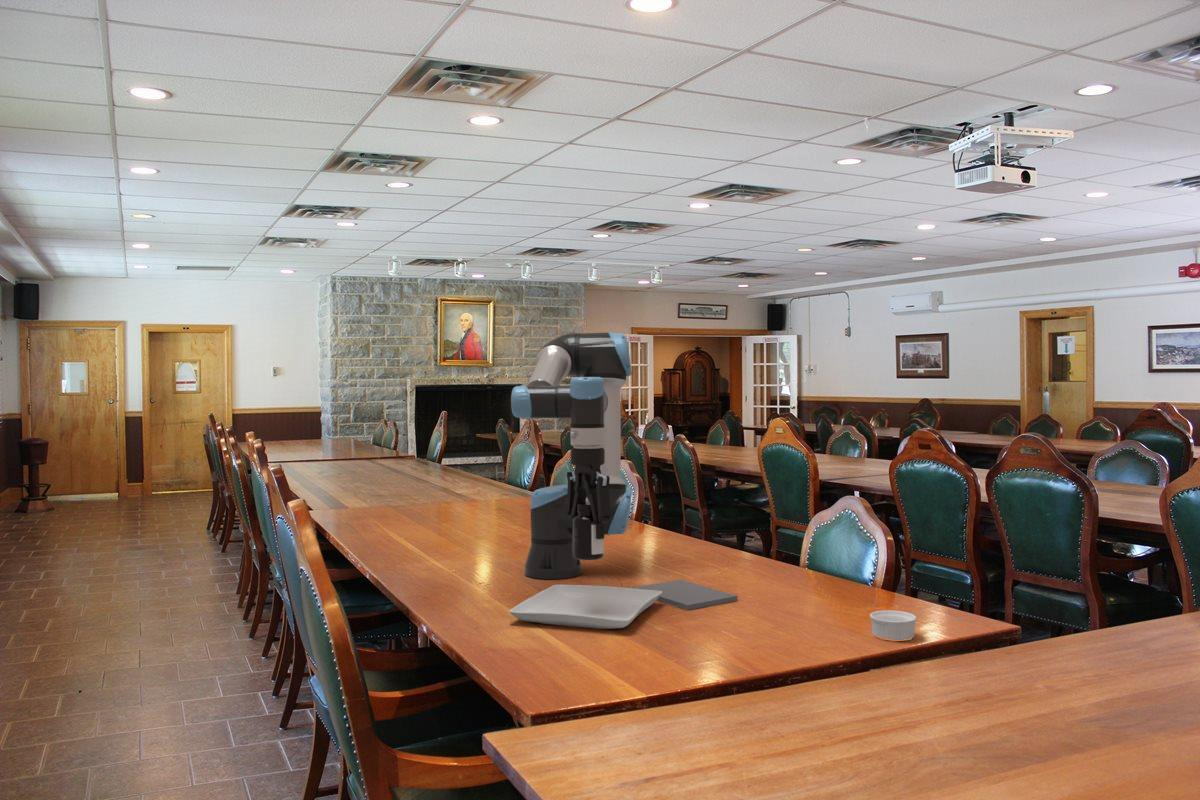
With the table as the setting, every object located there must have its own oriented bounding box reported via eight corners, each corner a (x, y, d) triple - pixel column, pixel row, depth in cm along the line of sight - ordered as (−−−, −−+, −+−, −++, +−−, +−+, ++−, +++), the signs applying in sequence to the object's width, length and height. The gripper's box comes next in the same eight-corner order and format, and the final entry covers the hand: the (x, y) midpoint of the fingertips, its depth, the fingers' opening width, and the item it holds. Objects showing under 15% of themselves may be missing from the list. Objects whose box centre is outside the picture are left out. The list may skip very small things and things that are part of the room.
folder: (680, 584, 230) (680, 579, 230) (737, 600, 212) (737, 595, 212) (632, 592, 221) (632, 587, 221) (687, 610, 204) (687, 605, 204)
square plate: (664, 605, 210) (664, 588, 210) (629, 638, 184) (628, 619, 184) (555, 597, 219) (554, 581, 219) (506, 627, 193) (506, 608, 193)
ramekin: (893, 645, 177) (893, 623, 177) (860, 634, 185) (860, 613, 184) (926, 639, 181) (926, 617, 181) (892, 628, 189) (892, 607, 188)
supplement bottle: (600, 561, 197) (600, 505, 197) (569, 560, 198) (569, 505, 198) (606, 555, 204) (606, 501, 204) (576, 554, 205) (576, 501, 205)
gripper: (549, 445, 207) (550, 546, 207) (598, 450, 190) (599, 560, 191) (577, 443, 211) (578, 542, 211) (627, 448, 195) (628, 556, 195)
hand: (588, 550), depth 201 cm, fingers closed on supplement bottle, 7 cm apart
